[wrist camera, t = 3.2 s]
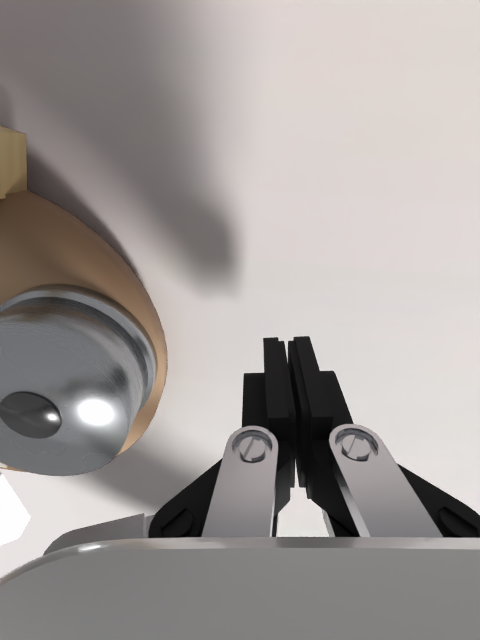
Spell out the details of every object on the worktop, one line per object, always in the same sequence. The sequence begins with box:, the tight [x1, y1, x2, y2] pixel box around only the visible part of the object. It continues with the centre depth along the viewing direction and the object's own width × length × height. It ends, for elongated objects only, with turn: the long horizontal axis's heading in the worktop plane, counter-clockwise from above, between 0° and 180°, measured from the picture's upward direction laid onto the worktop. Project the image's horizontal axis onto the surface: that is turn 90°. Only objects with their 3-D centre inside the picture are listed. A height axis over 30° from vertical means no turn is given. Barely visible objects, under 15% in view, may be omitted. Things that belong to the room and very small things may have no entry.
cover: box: [0, 284, 158, 476], centre depth 12 cm, size 7×7×4 cm
